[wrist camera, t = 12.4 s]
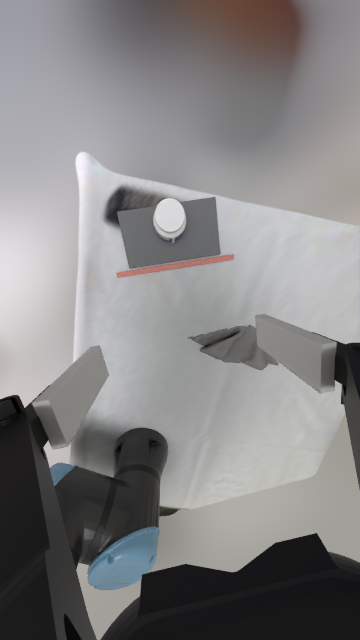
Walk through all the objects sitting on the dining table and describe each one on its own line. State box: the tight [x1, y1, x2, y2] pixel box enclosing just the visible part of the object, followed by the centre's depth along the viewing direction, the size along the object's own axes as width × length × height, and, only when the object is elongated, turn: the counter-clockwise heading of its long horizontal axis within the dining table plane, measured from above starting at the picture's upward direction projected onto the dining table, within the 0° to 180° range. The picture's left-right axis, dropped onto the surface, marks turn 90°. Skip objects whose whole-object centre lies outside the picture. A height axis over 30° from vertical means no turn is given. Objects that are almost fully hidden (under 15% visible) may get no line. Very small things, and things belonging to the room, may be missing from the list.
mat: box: [117, 197, 220, 268], centre depth 38 cm, size 20×11×1 cm, turn 99°
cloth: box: [189, 325, 278, 370], centre depth 46 cm, size 26×14×2 cm, turn 59°
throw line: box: [117, 254, 234, 277], centre depth 40 cm, size 26×1×1 cm, turn 99°
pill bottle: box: [153, 198, 186, 244], centre depth 32 cm, size 6×6×10 cm
